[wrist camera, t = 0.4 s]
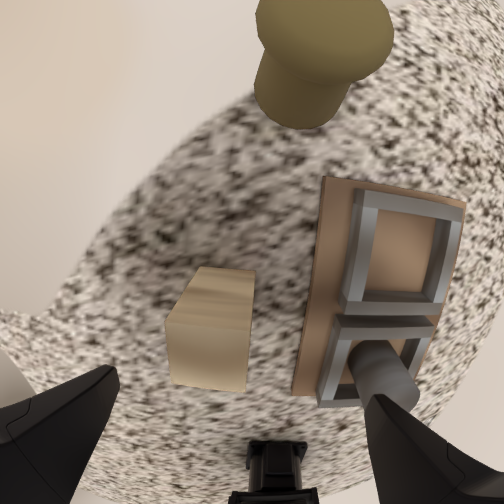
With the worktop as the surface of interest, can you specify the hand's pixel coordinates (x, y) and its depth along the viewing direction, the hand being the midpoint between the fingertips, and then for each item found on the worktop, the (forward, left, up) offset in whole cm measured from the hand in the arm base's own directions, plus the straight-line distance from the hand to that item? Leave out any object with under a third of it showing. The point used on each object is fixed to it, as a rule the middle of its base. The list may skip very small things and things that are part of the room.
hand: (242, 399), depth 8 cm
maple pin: (-2, +2, -12) cm, 13 cm away
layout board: (-2, -10, -12) cm, 16 cm away
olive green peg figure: (+13, -2, -12) cm, 18 cm away
